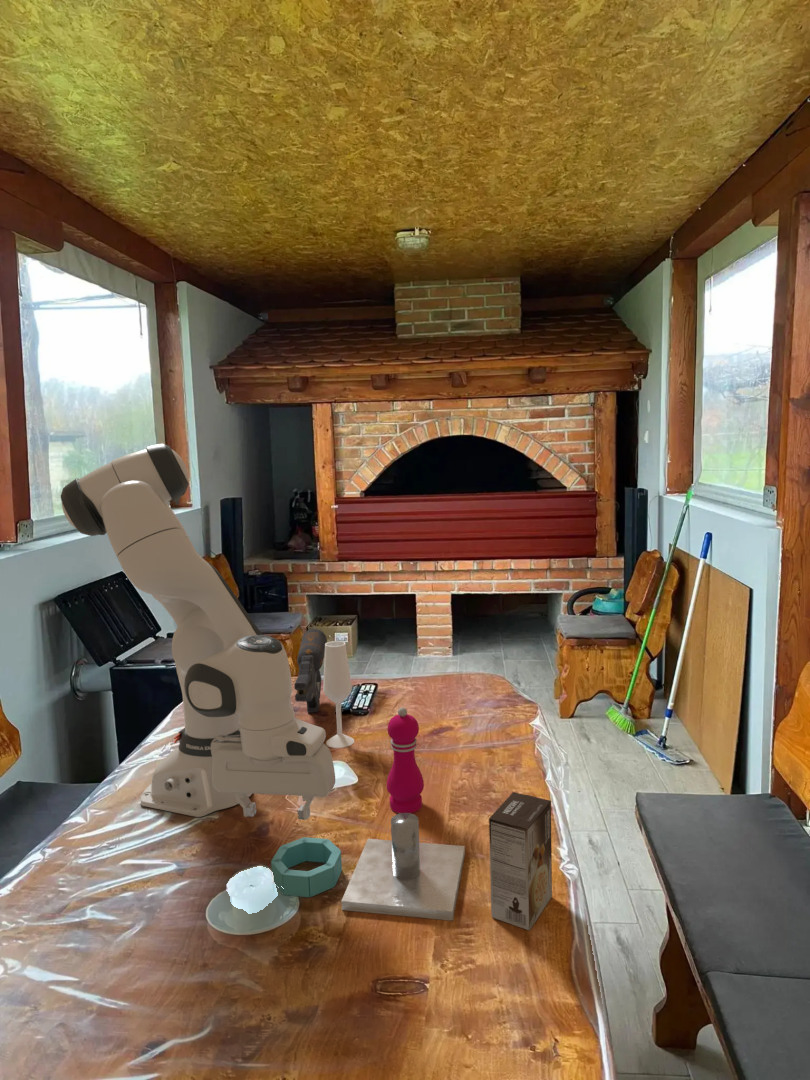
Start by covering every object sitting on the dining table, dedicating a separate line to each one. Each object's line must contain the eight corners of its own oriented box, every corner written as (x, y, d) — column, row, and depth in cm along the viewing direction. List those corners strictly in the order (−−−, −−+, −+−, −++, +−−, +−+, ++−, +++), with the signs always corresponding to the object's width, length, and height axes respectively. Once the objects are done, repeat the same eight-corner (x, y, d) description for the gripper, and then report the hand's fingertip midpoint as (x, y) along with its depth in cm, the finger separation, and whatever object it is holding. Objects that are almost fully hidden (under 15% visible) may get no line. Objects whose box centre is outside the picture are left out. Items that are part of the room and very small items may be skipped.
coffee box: (514, 884, 113) (513, 789, 111) (553, 896, 109) (552, 799, 107) (489, 918, 105) (487, 817, 103) (530, 932, 102) (529, 828, 99)
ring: (264, 893, 113) (263, 872, 112) (288, 854, 123) (286, 835, 123) (328, 899, 111) (327, 878, 110) (347, 859, 121) (346, 840, 121)
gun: (331, 695, 199) (327, 625, 196) (317, 737, 171) (312, 657, 168) (306, 695, 199) (302, 626, 196) (289, 738, 171) (284, 658, 168)
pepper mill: (420, 817, 134) (417, 715, 131) (383, 814, 135) (379, 714, 132) (427, 797, 141) (424, 701, 138) (391, 795, 142) (388, 699, 139)
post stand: (341, 910, 108) (338, 846, 107) (368, 846, 125) (365, 790, 123) (452, 920, 105) (450, 855, 103) (464, 854, 121) (463, 796, 120)
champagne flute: (359, 742, 167) (355, 644, 164) (334, 750, 164) (329, 649, 160) (345, 733, 173) (340, 638, 169) (320, 740, 169) (315, 643, 166)
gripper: (200, 743, 113) (209, 823, 115) (321, 746, 109) (329, 830, 111) (218, 726, 119) (227, 803, 121) (334, 729, 115) (341, 809, 117)
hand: (277, 816), depth 116 cm, fingers open, 8 cm apart
